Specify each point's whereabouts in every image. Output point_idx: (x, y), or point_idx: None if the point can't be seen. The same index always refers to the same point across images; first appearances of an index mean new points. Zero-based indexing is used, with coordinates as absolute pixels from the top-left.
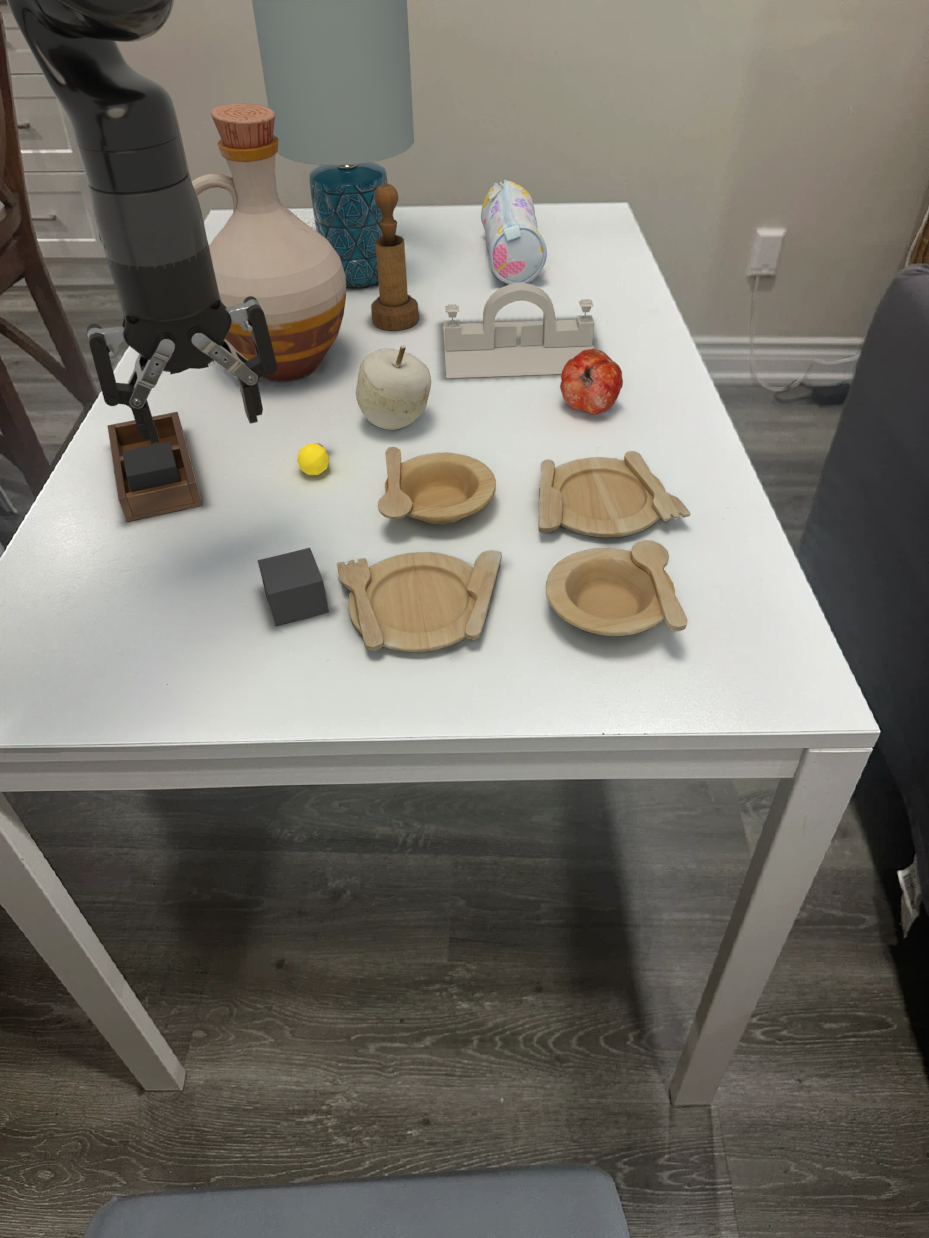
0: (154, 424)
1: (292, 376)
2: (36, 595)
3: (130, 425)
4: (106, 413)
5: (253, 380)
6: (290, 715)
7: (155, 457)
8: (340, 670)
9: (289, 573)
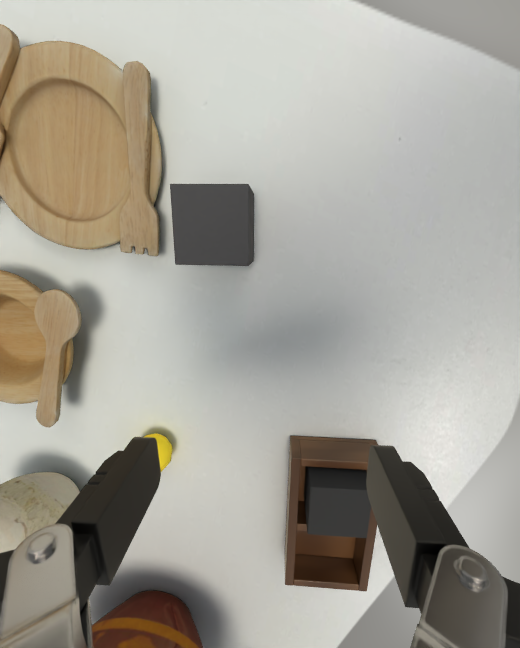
0: (373, 504)
1: (153, 596)
2: (500, 358)
3: (341, 582)
4: (354, 612)
5: (37, 538)
6: (270, 13)
7: (330, 512)
8: (194, 76)
9: (212, 219)
